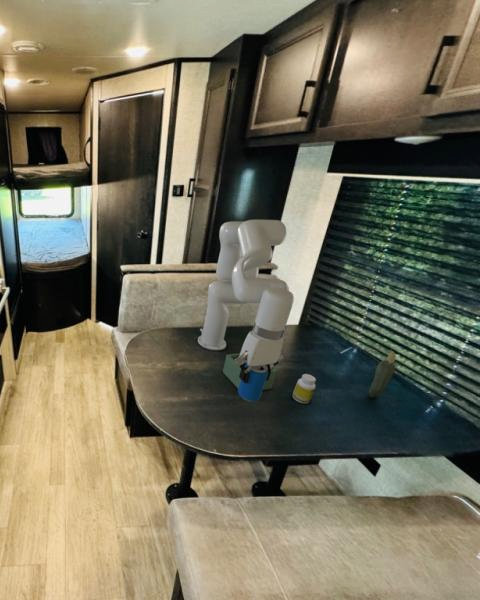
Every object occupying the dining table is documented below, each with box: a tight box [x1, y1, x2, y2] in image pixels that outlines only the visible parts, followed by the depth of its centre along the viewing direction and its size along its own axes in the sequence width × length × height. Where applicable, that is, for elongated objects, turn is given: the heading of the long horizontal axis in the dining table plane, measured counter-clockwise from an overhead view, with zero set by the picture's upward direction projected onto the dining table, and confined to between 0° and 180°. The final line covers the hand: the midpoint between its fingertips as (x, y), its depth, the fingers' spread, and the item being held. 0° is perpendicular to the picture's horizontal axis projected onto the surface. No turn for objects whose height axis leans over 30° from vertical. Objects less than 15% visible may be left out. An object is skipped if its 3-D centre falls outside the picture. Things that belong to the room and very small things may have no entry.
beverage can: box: [237, 364, 268, 402], centre depth 98 cm, size 6×6×12 cm
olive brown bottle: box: [368, 349, 397, 398], centre depth 111 cm, size 4×4×20 cm
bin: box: [222, 352, 278, 391], centre depth 123 cm, size 13×13×9 cm
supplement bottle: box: [291, 373, 317, 404], centre depth 113 cm, size 5×5×10 cm
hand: (253, 378), depth 97 cm, fingers closed on beverage can, 6 cm apart
